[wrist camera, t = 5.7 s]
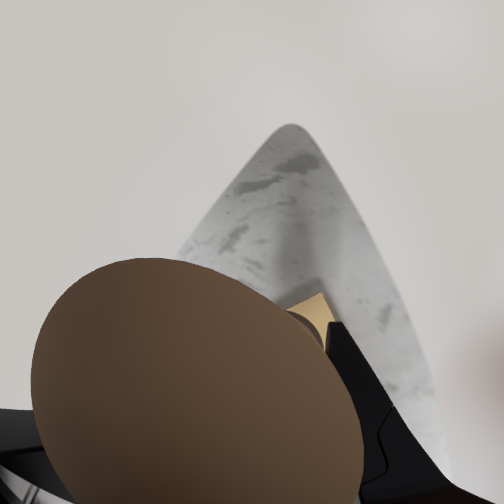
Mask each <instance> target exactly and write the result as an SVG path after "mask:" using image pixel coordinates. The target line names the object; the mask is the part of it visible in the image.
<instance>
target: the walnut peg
mask: <svg viewBox="0 0 504 504" xmlns="http://www.w3.org/2000/svg"><path fill="white" fill-rule="evenodd" d="M31 397H32V405H33V412H34V417H35V422H36V426H37V429H38V432H39V436H40V439H41V442H42V444H43V447H44V449H45V451H46V454H47V456H48V458H49V460H50V462H51V464H52V466H53V468H54V470H55V471H56V473H57V475H58V477H59V478H60V480H61V481H62V483H63V484H64V486H65V487H66V489H67V490H68V491H69V493H70V494H71V495H72V496H73V498H74V499H75V500H76V501H77V502H78V504H354V501H355V499H356V497H357V495H358V492H359V488H360V484H361V479H362V475H363V466H364V445H363V438H362V433H361V427H360V421H359V418H358V416H357V413H356V410H355V407H354V404H353V402H352V399H351V396H350V394H349V392H348V390H347V388H346V387H345V385H344V383H343V381H342V379H341V377H340V376H339V374H338V372H337V370H336V368H335V367H334V365H333V364H332V362H331V361H330V359H329V358H328V356H327V355H326V353H325V352H324V345H323V341H322V338H321V336H320V334H319V332H318V330H317V329H316V327H315V326H314V325H313V324H312V323H311V322H310V321H309V320H308V319H306V318H305V317H303V316H302V315H300V314H297V313H295V312H292V311H287V310H283V309H282V308H280V307H279V306H277V305H276V304H274V303H273V302H271V301H270V300H269V299H267V298H266V297H264V296H262V295H261V294H259V293H257V292H256V291H254V290H252V289H251V288H249V287H247V286H246V285H244V284H242V283H241V282H239V281H237V280H235V279H233V278H230V277H228V276H226V275H223V274H221V273H219V272H216V271H214V270H212V269H209V268H206V267H202V266H199V265H195V264H192V263H188V262H185V261H178V260H171V259H164V258H135V259H130V260H124V261H118V262H115V263H112V264H109V265H106V266H104V267H101V268H98V269H96V270H94V271H92V272H91V273H89V274H87V275H85V276H83V277H82V278H81V279H79V280H78V281H77V282H76V283H74V284H73V285H72V286H71V287H69V288H68V289H67V290H66V291H65V292H64V294H63V295H62V296H61V297H60V298H59V299H58V300H57V302H56V303H55V304H54V306H53V307H52V309H51V310H50V312H49V314H48V316H47V317H46V319H45V321H44V323H43V325H42V328H41V330H40V333H39V336H38V339H37V342H36V345H35V350H34V354H33V359H32V368H31Z"/></svg>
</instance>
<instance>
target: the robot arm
mask: <svg viewBox="0 0 504 504" xmlns="http://www.w3.org/2000/svg"><path fill="white" fill-rule="evenodd" d="M325 353H326V355H327V356H328V358H329V359H330V361H331V362H332V364H333V365H334V367H335V368H336V370H337V372H338V374H339V376H340V377H341V379H342V381H343V383H344V385H345V387H346V388H347V390H348V392H349V394H350V396H351V399H352V402H353V404H354V407H355V410H356V413H357V416H358V418H359V421H360V427H361V433H362V438H363V445H364V466H363V475H362V479H361V484H360V488H359V492H358V495H357V497H356V499H355V501H354V504H495V503H492V502H490V501H488V500H485V499H483V498H480V497H478V496H476V495H474V494H472V493H470V492H467V491H465V490H463V489H461V488H459V487H457V486H456V485H454V484H453V483H451V482H450V481H449V480H448V479H447V478H446V477H445V476H444V475H443V474H442V472H441V471H440V470H439V469H438V467H437V466H436V465H435V463H434V462H433V461H432V459H431V458H430V457H429V455H428V454H427V453H426V452H425V450H424V449H423V448H422V446H421V445H420V444H419V442H418V441H417V440H416V438H415V437H414V436H413V434H412V433H411V431H410V430H409V429H408V427H407V425H406V424H405V422H404V421H403V419H402V417H401V416H400V414H399V412H398V411H397V409H396V407H395V406H393V403H392V401H391V399H390V398H389V396H388V394H387V393H386V391H385V389H384V388H383V386H382V384H381V383H380V381H379V379H378V378H377V376H376V375H375V373H374V371H373V370H372V368H371V367H370V365H369V363H368V362H367V360H366V359H365V357H364V355H363V354H362V352H361V351H360V349H359V348H358V346H357V344H356V343H355V341H354V340H353V338H352V337H351V335H350V334H349V332H348V330H347V329H346V327H345V326H344V324H343V323H342V322H340V321H330V322H328V325H327V333H326V341H325ZM392 406H393V407H392ZM0 504H78V502H77V501H76V500H75V499H74V498H73V496H72V495H71V494H70V493H69V491H68V490H67V489H66V487H65V486H64V484H63V483H62V481H61V480H60V478H59V477H58V475H57V473H56V471H55V470H54V468H53V466H52V464H51V462H50V460H49V458H48V456H47V454H46V451H45V449H44V447H43V444H42V442H41V439H40V436H39V432H38V429H37V426H36V422H35V417H34V412H33V410H13V409H0Z"/></svg>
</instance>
